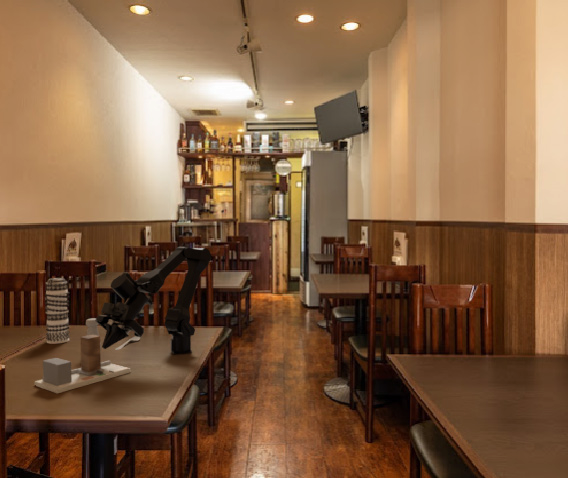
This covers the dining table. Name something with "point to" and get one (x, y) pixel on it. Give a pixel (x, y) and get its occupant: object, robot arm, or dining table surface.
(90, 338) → the gauge slider
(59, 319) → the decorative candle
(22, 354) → the dining table surface
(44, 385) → the gauge board
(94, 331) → the salt shaker
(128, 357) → the dining table surface
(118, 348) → the spoon
